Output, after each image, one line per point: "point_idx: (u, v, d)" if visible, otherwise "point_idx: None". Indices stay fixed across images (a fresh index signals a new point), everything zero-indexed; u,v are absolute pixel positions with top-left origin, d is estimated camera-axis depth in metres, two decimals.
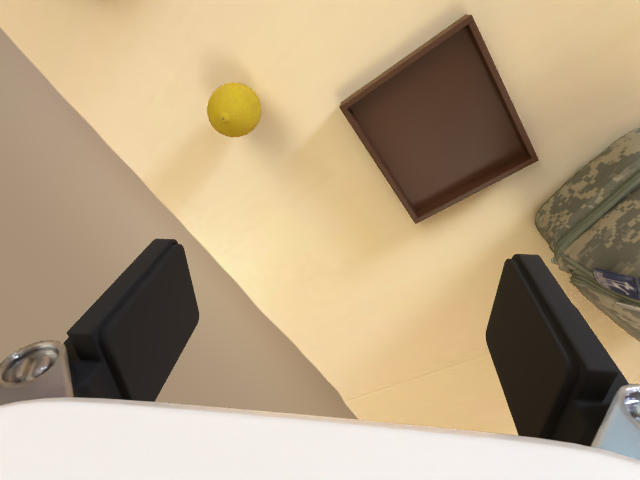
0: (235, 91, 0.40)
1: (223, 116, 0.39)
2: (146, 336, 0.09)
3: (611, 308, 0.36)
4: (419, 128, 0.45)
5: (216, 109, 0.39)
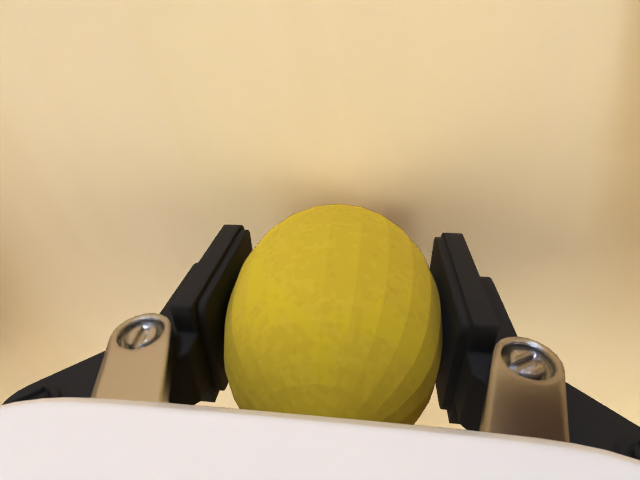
0: (261, 295, 0.08)
1: None
2: None
3: None
4: None
5: None
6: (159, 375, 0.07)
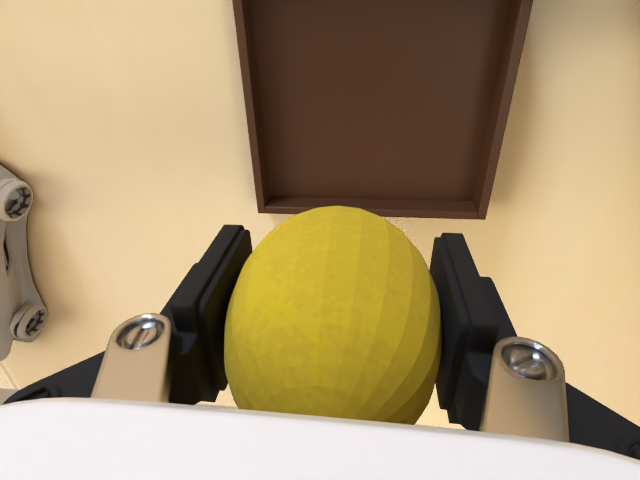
0: (261, 297, 0.08)
1: None
2: None
3: None
4: (355, 130, 0.28)
5: None
6: (159, 375, 0.07)
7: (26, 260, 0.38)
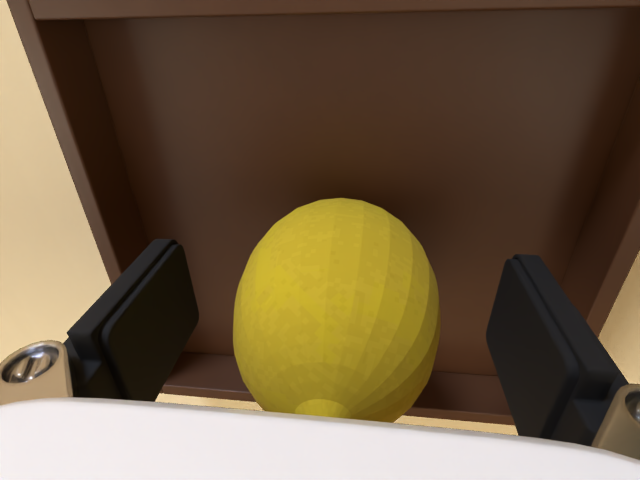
0: (268, 281, 0.08)
1: None
2: (146, 336, 0.09)
3: None
4: None
5: (273, 408, 0.08)
6: (67, 397, 0.07)
7: None
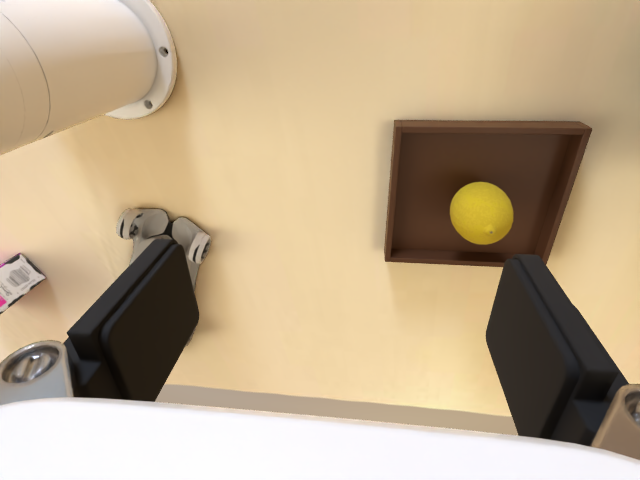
0: (473, 200, 0.35)
1: (489, 230, 0.34)
2: (146, 337, 0.09)
3: None
4: None
5: (476, 230, 0.35)
6: (67, 397, 0.07)
7: (194, 288, 0.51)
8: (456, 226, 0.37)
